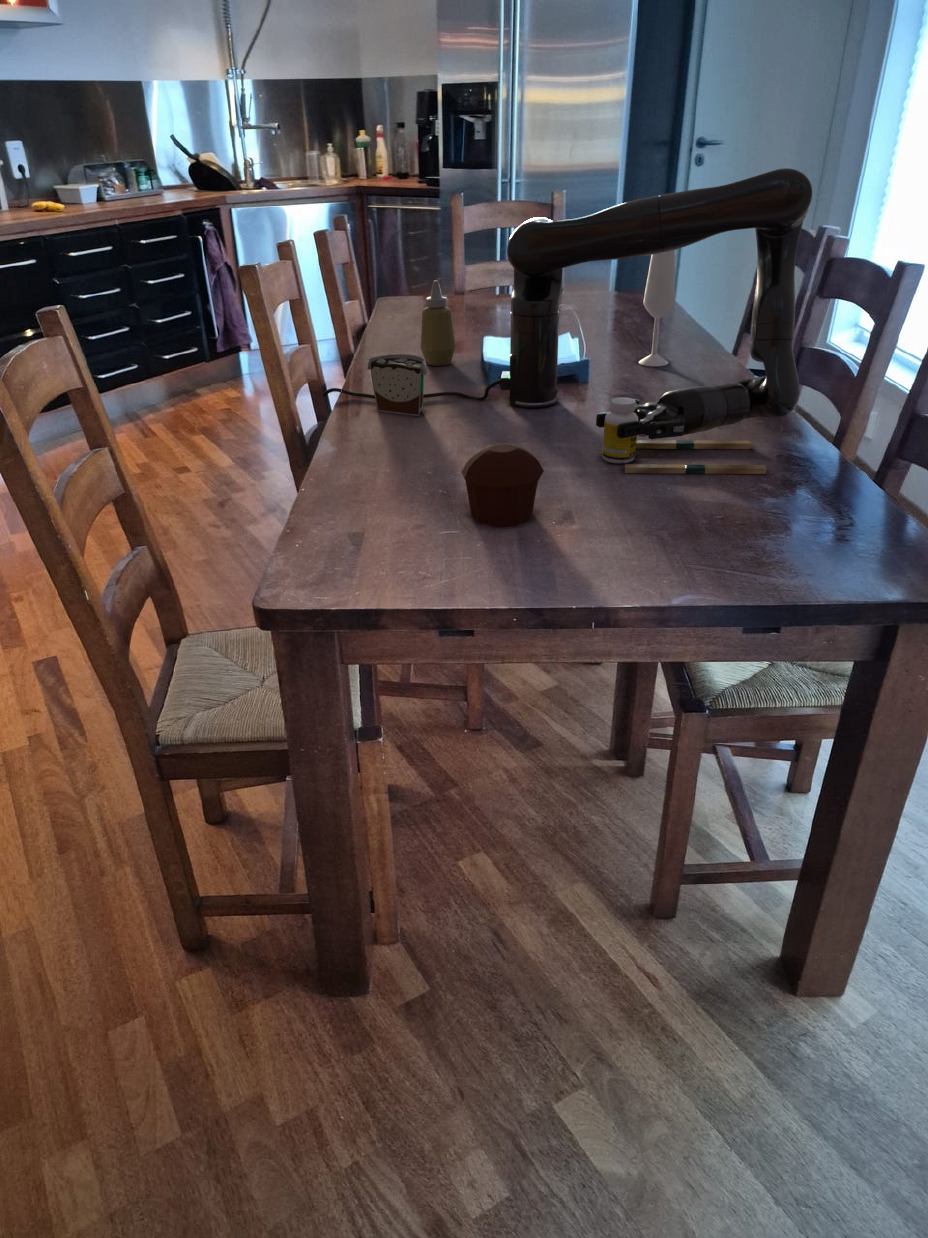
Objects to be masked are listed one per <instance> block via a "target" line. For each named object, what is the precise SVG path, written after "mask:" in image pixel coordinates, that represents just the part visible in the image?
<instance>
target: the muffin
mask: <svg viewBox="0 0 928 1238" xmlns="http://www.w3.org/2000/svg"><path fill="white" fill-rule="evenodd" d="M544 472H545V470H544V468H543V466H542V465H541V462H540V461H539V459H538V458H537V457H536V456H535V455H534V453H533V452H532V451H530V450H529V449H527V448H525V447H522V446H520V445H517V444H515V443H513V444H512V443H497V444H490V445H488V446H485V447H483V448H481V449H479V450H477V451H476V452H475V453H473V455H471V457H470V458H469V459H468V461H466V463H465V465H464V466H463V468H462V470H461V471H460V473H461V475H462V477H463V479H464V480H465V486H466V492H467V498H468V503H469V509H470V515H471V517H472V518H473V519H475V520H476V521H477V522H478V524H481V525H487V526H488V525H489V526H491V527H495V528H499V527H516V526H518V525H520V524H523V523H526V522H528V521H531V516H532V514H533V512H534V506H535V501H536V495H537V490H538V484H539V480H540V479H541V478H542V476H543V474H544Z"/></svg>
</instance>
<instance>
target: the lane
mask: <svg viewBox="0 0 928 1238" xmlns="http://www.w3.org/2000/svg"><path fill="white" fill-rule="evenodd" d="M636 449H642V450H649V449H652V450H653V449H657V450H658V449H660V450H661V449H662V450H663V449H664V450H666V449H667V450H668V449H669V450H674V449H675V450H684V449H685V450H751V449H752V442H751V441H750V440H685V439H684V440H682V439H681V440H676V439H675V440H668V439H667V440H661V439H660V440H659V439H649V440H648V439H647V440H644V439H643V440H641V439H640V440H637V439H636ZM767 470H768V468H767V466H766V465H765V464H675V463H674V464H673V463H672V464H668V463H667V464H666V463H665V464H664V463H663V464H662V463H661V464H660V463H659V464H657V463H655V464H653V463H651V464H650V463H646V464H645V463H641V464H640V463H624V473H625V474H678V475H679V474H681V475H683V474H685V475H686V474H690V475H691V474H694V475H695V474H699V475H700V474H702V475H704V474H705V475H708V474H709V475H767Z"/></svg>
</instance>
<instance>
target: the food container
mask: <svg viewBox="0 0 928 1238" xmlns="http://www.w3.org/2000/svg"><path fill="white" fill-rule="evenodd" d="M366 370H367V371H369V370H370V376H371V382H372V389H373V395H375V399H374V400H375V406H376V412H382V413H388V414H396V415H404V416H411V417H412V416H413V417H421V416H422V415H423V411H424V410H423V409H424V398H423V394H424V393H425V392H424V391H425V389H424V388H425V376H426V375H427V374H428V373H429V371H428V366H427V363H426V361H425V359H424V357H422V356H419V355H415V354H406V353H405V354H404V353H394V354H393V353H392V354H384V355H378V356H373V357H370V358H369V359H368V362H367V368H366Z"/></svg>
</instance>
